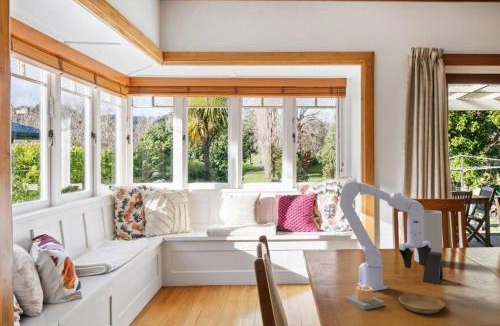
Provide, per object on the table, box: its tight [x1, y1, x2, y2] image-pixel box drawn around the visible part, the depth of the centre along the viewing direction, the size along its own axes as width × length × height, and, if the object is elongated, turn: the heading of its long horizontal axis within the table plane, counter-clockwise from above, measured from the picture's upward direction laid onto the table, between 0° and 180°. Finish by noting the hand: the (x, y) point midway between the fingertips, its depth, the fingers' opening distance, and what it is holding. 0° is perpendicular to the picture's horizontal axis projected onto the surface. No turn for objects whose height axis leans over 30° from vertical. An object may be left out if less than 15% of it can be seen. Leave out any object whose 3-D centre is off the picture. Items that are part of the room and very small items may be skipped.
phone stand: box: [422, 251, 445, 285], centre depth 170 cm, size 9×6×12 cm, turn 141°
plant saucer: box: [398, 293, 446, 315], centre depth 140 cm, size 15×15×3 cm
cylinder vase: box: [413, 209, 443, 264], centre depth 200 cm, size 12×12×25 cm
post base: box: [345, 285, 385, 311], centre depth 145 cm, size 10×9×6 cm
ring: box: [355, 285, 374, 302], centre depth 145 cm, size 6×6×4 cm
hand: (415, 266), depth 158 cm, fingers open, 7 cm apart
